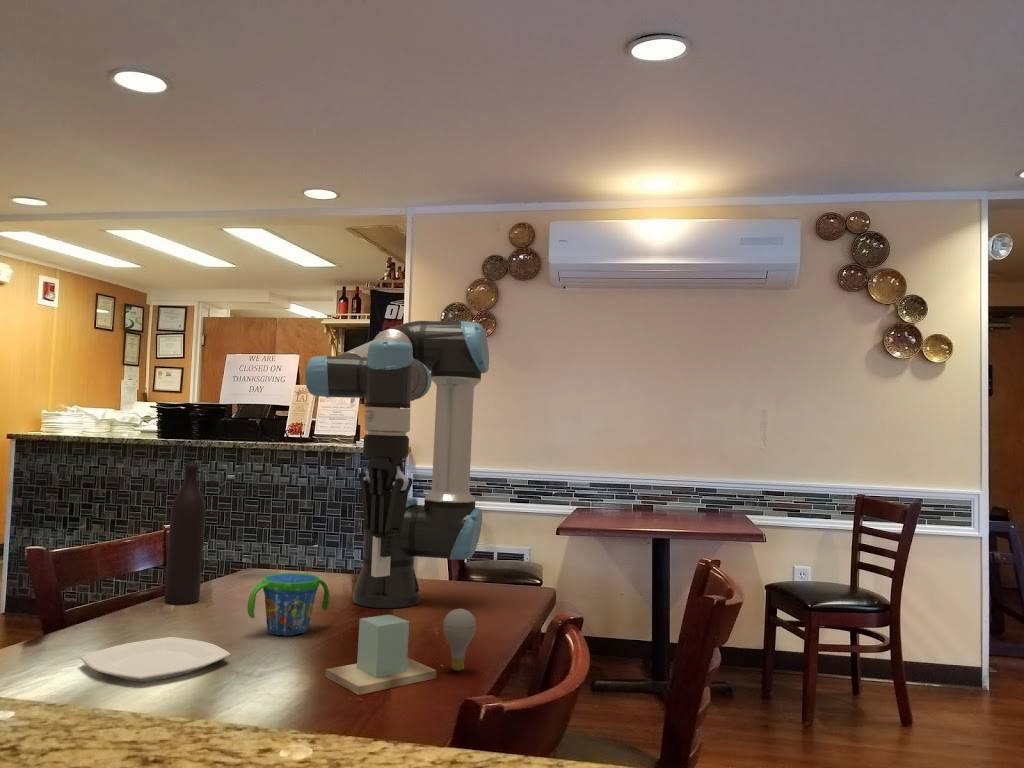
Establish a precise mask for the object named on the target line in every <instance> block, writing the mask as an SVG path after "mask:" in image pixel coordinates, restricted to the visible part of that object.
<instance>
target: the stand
mask: <svg viewBox="0 0 1024 768" xmlns="http://www.w3.org/2000/svg"><path fill="white" fill-rule="evenodd" d="M325 678H327V679H328V680H330V681H331V682H334V683H335V684H338V685H339V686H341V687H343V688H345V689H347V690H349V691H350V692H352V693H354V694H356V695H358V696H360V695H365V694H369V693H375V692H379V691H383V690H387V689H392V688H397V687H401V686H407V685H411V684H415V683H420V682H425V681H428V680H434V679H437V669H434V668H432V667H430V666H427V665H426V664H424V663H420V662H418V661H417V660H415V659H414V660H413V659H412V658H409V657H407V672H402V673H397V674H392V675H387V676H383V677H378V678H375V677H373V676H371V675H369V674H367V673H365V672H363V671H361V670H359V669H357V663H352V664H346V665H342V666H341V665H340V666H337V667H331V668H326V669H325Z"/></svg>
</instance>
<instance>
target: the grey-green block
mask: <svg viewBox="0 0 1024 768" xmlns="http://www.w3.org/2000/svg"><path fill="white" fill-rule="evenodd" d="M358 623H359V625H358V641H357V642H358V643H357V656H356V657H357V658H356V659H357V661H356V664H357V669H359V670H361V671H363V672H365V673H367V674H369V675H371V676H373V677H375V678H378V677H383V676H387V675H392V674H397V673H402V672H407V658H408V655H409V654H408V650H409V632H410V631H409V629H410V621H409V620H406V619H404V618H400V617H398V616H396V615H392V614H383V615H377V616H375V615H374V616H370V617H362V618H359V621H358Z"/></svg>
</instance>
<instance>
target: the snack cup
mask: <svg viewBox="0 0 1024 768" xmlns="http://www.w3.org/2000/svg"><path fill="white" fill-rule="evenodd" d="M320 585H321V586H322V587H323V590H324V591H323V598H322V602H321V608H322V610H323V611H328V609H329V607H330V599H331V597H330V589H329V586H328V584H327V583H326V581H324V580H322V579H320V576H317V575H314V574H309V573H308V574H307V573H290V572H288V573H275V574H274V573H273V574H268V575H265V576H264V577H262V580H261V581H260V582H258V583H257V584H255V586H254V587H253V589H251V592H250V595H249V598H248V601H247V614H248V616H249V618H251V619H254V618H255V604H256V597H257V593H259V591H260V590H262V589H263V593H264V603H265V604H264V607H265V608H264V609H265V614H266V615H265V617H266V619H265V620H266V622H265V623H266V630H267V632H268V634H272V635H275V636H276V635H277V636H285V637H286V636H296V635H298V634H305V633H307V630H308V629H309V627H310V623H311V619H312V616H313V615H312V614H313V609H314V603H315V599H316V594H317V591H318V589H319V586H320Z"/></svg>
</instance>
